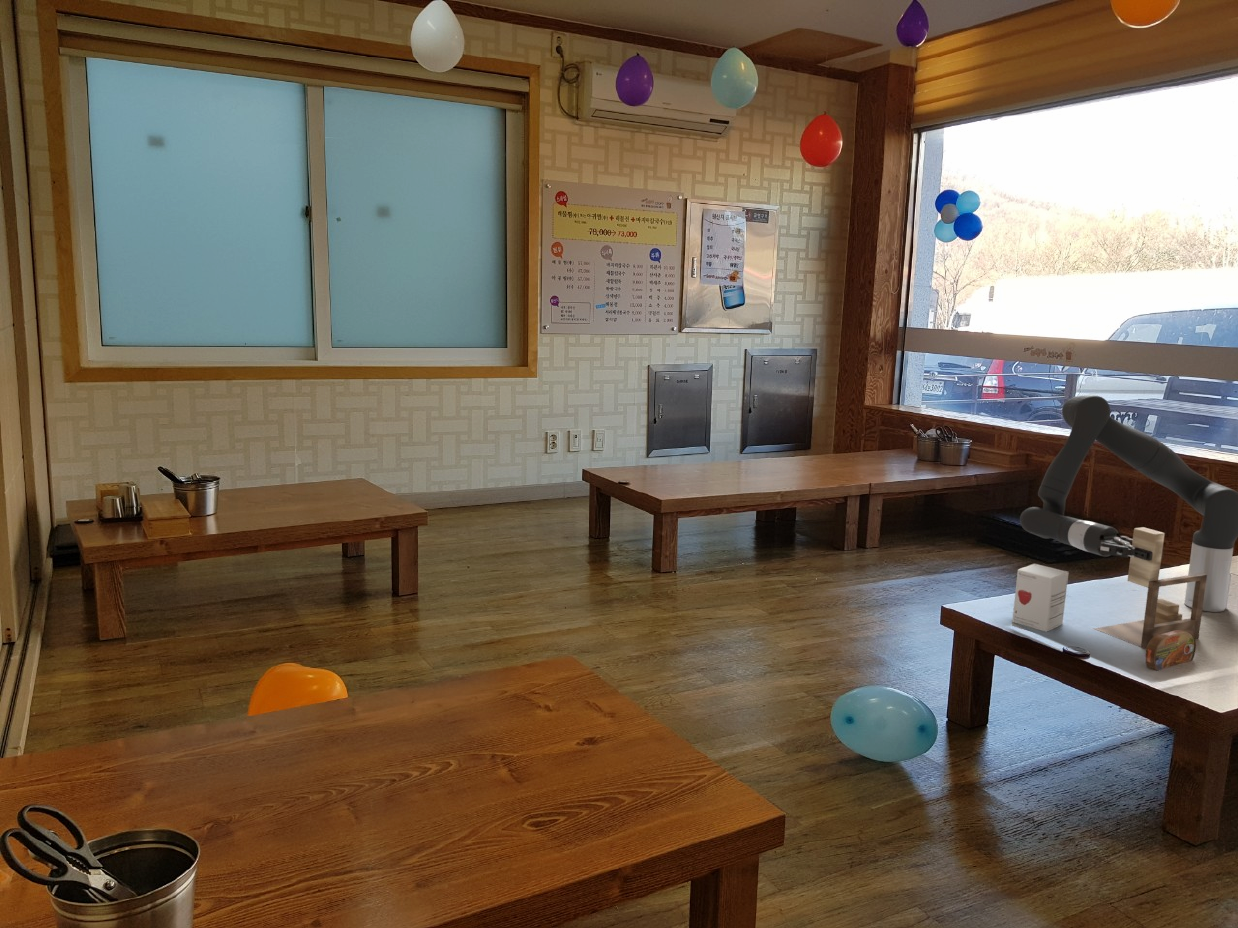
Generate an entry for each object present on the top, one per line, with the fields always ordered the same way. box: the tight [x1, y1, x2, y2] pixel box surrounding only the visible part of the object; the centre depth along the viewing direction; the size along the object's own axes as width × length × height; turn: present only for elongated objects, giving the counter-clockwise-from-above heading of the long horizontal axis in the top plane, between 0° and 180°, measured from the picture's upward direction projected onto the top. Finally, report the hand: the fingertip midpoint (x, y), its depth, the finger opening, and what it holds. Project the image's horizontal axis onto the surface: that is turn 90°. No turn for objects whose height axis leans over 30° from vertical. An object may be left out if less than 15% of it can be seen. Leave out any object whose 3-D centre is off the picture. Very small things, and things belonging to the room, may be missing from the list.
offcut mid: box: [1155, 612, 1183, 623], centre depth 221 cm, size 4×6×2 cm
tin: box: [1145, 630, 1197, 672], centre depth 201 cm, size 15×3×8 cm, turn 117°
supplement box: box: [1011, 563, 1070, 633], centre depth 225 cm, size 9×9×15 cm
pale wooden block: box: [1127, 526, 1166, 589], centre depth 213 cm, size 3×6×13 cm, turn 22°
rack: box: [1093, 573, 1207, 650], centre depth 218 cm, size 18×14×17 cm
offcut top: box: [1156, 598, 1180, 616], centre depth 220 cm, size 4×5×2 cm
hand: (1156, 555), depth 210 cm, fingers closed on pale wooden block, 3 cm apart
